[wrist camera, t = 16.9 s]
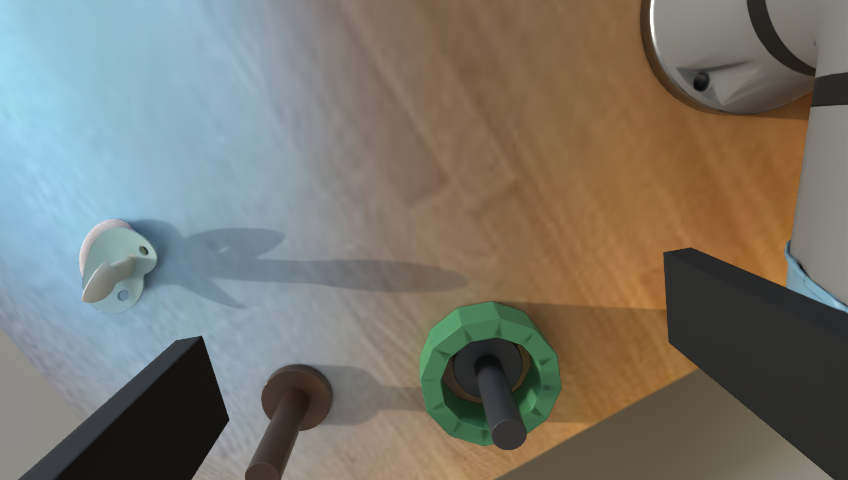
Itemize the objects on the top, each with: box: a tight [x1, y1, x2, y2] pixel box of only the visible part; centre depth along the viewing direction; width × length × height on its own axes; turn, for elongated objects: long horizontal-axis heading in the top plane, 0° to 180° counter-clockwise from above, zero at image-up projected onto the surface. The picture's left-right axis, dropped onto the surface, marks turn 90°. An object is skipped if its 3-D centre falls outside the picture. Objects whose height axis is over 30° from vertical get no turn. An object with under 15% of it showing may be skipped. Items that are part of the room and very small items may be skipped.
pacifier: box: [79, 219, 158, 314], centre depth 34 cm, size 7×6×6 cm
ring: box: [420, 301, 561, 446], centre depth 39 cm, size 11×11×4 cm
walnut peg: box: [245, 365, 332, 480], centre depth 36 cm, size 6×6×10 cm
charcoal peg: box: [452, 337, 527, 450], centre depth 35 cm, size 6×6×10 cm
